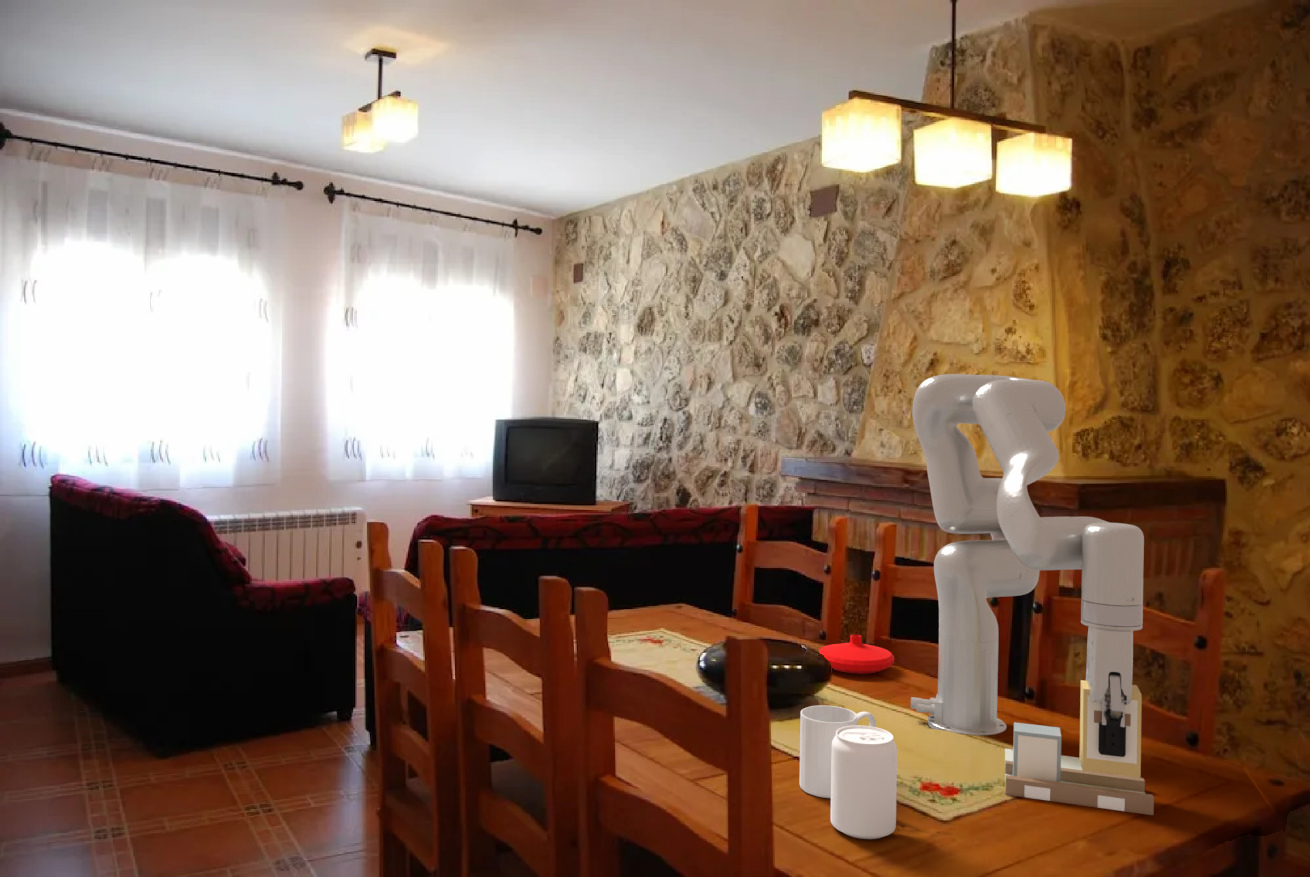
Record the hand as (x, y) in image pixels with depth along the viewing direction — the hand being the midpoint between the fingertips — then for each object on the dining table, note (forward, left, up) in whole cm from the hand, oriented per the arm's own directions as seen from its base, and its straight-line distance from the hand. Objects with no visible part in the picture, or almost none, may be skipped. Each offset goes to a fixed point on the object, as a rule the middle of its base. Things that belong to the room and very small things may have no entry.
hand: (1109, 746), depth 128 cm
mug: (-35, -7, -8) cm, 37 cm away
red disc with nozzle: (-42, +57, -8) cm, 71 cm away
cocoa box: (-9, 0, -7) cm, 11 cm away
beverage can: (-30, -20, -8) cm, 37 cm away
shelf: (-4, +6, -8) cm, 11 cm away
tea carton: (0, 0, -3) cm, 3 cm away
